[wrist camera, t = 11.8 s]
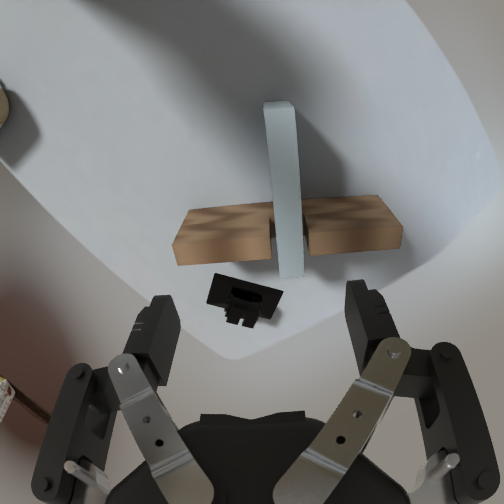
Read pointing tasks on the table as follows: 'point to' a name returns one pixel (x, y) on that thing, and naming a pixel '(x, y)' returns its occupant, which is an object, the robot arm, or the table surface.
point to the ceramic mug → (3, 107)
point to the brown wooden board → (263, 229)
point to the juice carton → (5, 396)
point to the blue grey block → (285, 186)
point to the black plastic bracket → (243, 299)
